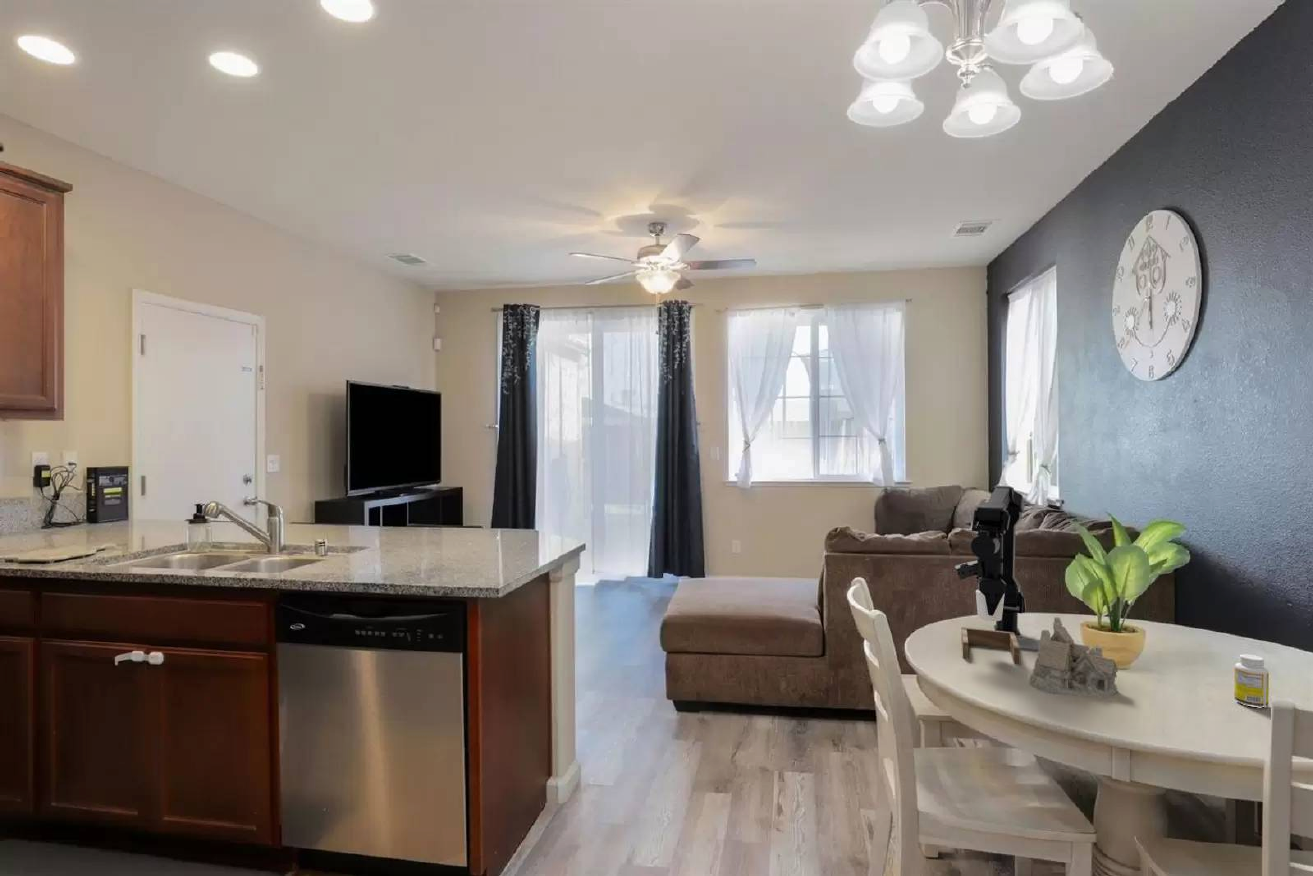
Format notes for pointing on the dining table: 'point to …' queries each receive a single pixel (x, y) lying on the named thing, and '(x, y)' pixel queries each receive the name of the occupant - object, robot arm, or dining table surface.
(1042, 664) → the ceramic cottage
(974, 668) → the dining table surface
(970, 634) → the brown wooden u-shaped piece
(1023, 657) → the dining table surface
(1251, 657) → the supplement bottle
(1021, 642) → the coaster
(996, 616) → the white cup
